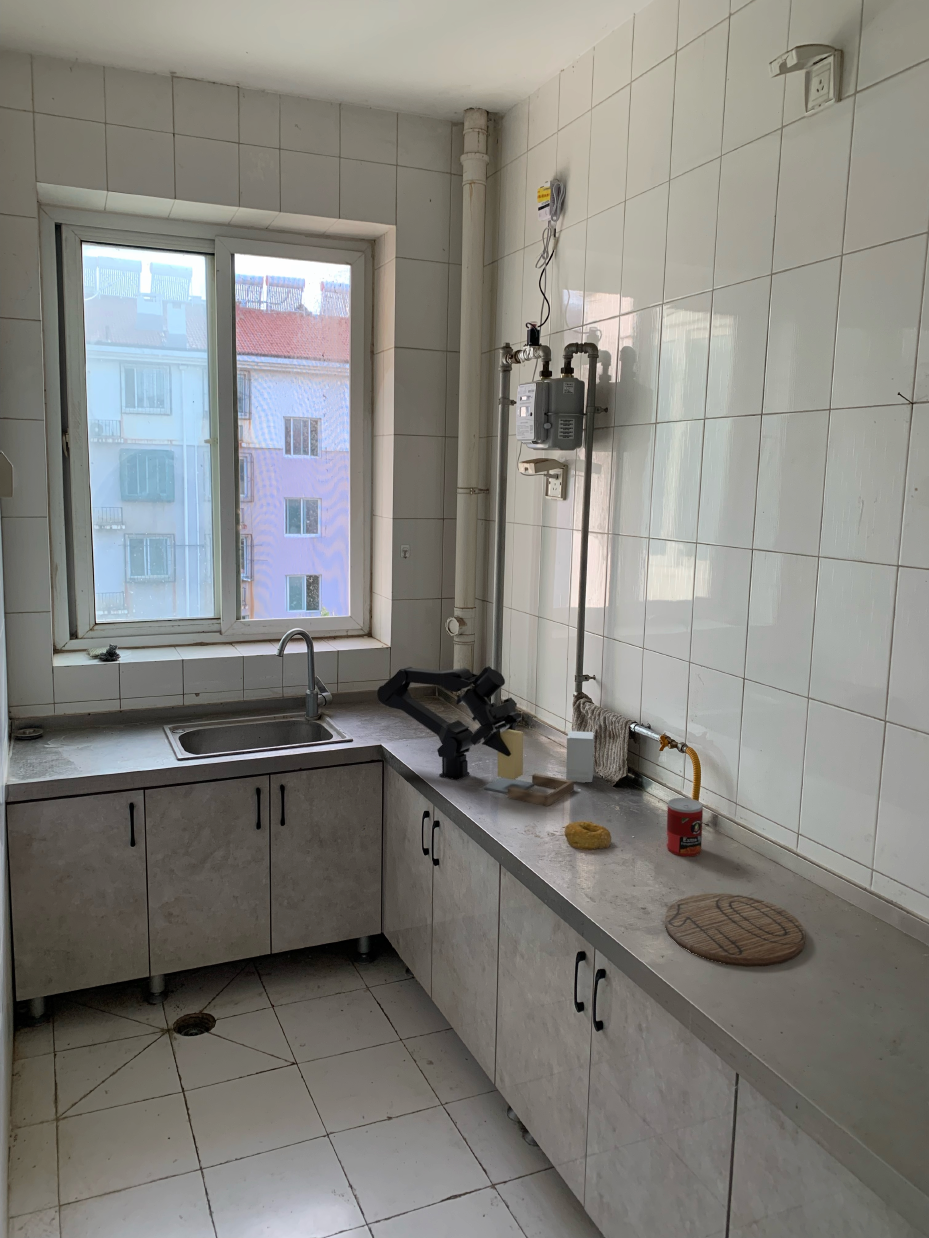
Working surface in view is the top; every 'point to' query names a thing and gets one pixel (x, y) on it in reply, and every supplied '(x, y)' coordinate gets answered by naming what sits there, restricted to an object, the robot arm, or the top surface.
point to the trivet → (735, 929)
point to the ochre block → (513, 763)
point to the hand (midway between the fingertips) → (514, 752)
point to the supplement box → (580, 756)
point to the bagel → (587, 835)
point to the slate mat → (507, 785)
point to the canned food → (684, 826)
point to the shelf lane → (538, 798)
